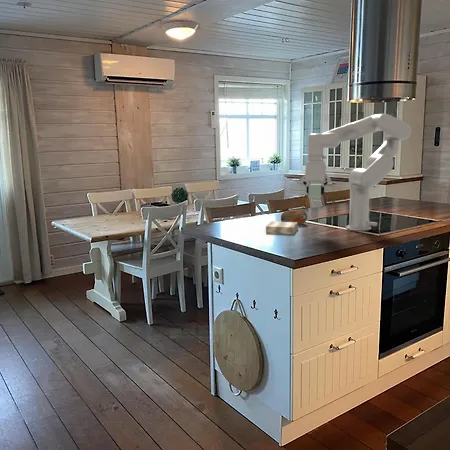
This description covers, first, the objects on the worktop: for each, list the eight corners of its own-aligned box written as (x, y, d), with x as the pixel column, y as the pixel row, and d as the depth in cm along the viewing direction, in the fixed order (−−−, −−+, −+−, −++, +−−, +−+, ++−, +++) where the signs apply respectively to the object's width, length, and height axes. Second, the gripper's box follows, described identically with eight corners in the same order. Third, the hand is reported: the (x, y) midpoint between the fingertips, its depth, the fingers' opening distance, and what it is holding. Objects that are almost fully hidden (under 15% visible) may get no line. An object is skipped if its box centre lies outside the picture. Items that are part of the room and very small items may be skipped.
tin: (282, 226, 257) (282, 211, 256) (280, 225, 260) (279, 210, 259) (307, 224, 261) (307, 209, 259) (304, 223, 264) (304, 208, 262)
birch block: (297, 229, 249) (297, 222, 248) (293, 235, 236) (293, 227, 235) (271, 228, 253) (271, 221, 253) (266, 234, 240) (265, 226, 240)
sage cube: (321, 196, 239) (322, 184, 238) (320, 197, 233) (320, 185, 232) (310, 195, 241) (310, 184, 240) (308, 197, 235) (308, 185, 234)
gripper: (333, 158, 234) (333, 193, 238) (299, 158, 240) (299, 193, 243) (332, 158, 227) (331, 195, 231) (297, 159, 233) (297, 195, 236)
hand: (315, 194), depth 237 cm, fingers closed on sage cube, 6 cm apart
